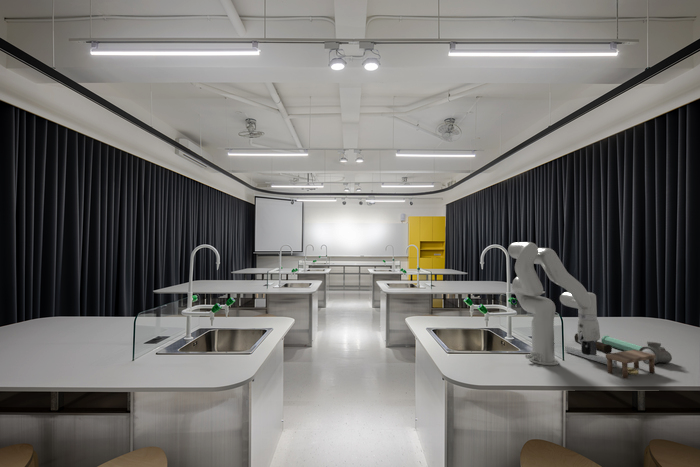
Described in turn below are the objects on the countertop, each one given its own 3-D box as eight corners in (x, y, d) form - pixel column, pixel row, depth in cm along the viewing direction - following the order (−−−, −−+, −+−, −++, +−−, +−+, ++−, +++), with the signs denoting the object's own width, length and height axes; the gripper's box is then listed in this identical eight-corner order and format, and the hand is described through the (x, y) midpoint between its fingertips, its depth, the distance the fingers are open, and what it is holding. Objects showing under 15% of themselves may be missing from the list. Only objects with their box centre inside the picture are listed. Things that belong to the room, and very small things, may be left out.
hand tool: (613, 353, 172) (612, 343, 172) (604, 354, 172) (604, 343, 172) (580, 341, 195) (580, 332, 195) (572, 341, 194) (572, 332, 195)
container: (656, 347, 163) (607, 333, 188) (647, 352, 162) (599, 337, 187) (659, 357, 163) (611, 342, 188) (651, 363, 162) (603, 347, 187)
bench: (626, 379, 139) (625, 360, 139) (606, 372, 146) (605, 354, 147) (656, 373, 145) (655, 354, 145) (635, 366, 153) (634, 349, 153)
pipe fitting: (655, 365, 153) (655, 343, 154) (638, 361, 160) (637, 340, 162) (676, 367, 154) (675, 345, 156) (658, 362, 162) (657, 341, 164)
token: (629, 375, 143) (629, 371, 143) (620, 370, 148) (620, 366, 148) (641, 375, 143) (641, 371, 143) (632, 371, 148) (632, 367, 148)
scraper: (612, 366, 151) (612, 348, 152) (563, 351, 174) (563, 335, 174) (617, 366, 152) (617, 347, 153) (568, 350, 175) (568, 334, 175)
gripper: (583, 320, 158) (584, 358, 157) (606, 317, 163) (608, 354, 162) (568, 316, 165) (569, 353, 164) (591, 314, 170) (592, 349, 170)
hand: (588, 353), depth 163 cm, fingers closed on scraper, 3 cm apart
